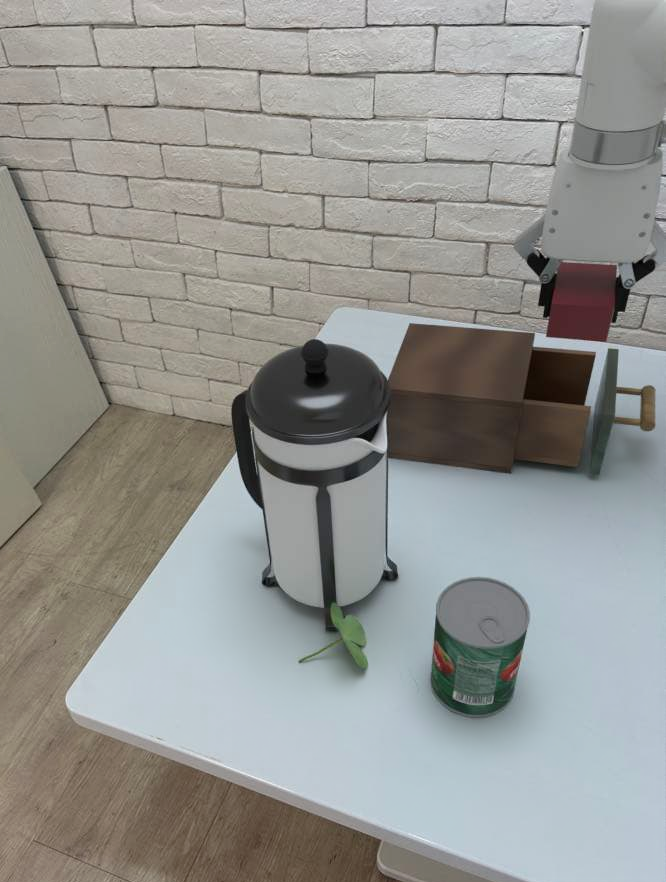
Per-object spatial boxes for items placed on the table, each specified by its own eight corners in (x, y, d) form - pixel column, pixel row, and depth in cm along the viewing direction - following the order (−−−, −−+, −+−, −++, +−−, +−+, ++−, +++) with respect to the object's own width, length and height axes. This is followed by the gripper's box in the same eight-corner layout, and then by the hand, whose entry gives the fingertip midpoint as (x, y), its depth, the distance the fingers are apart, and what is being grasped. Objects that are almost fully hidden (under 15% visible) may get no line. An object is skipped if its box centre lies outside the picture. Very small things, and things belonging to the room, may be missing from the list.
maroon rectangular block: (552, 295, 91) (558, 261, 88) (609, 298, 89) (617, 264, 86) (545, 337, 85) (551, 303, 82) (606, 342, 83) (614, 307, 80)
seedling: (329, 680, 85) (381, 652, 82) (308, 705, 77) (365, 675, 75) (294, 622, 85) (344, 592, 83) (269, 641, 78) (324, 609, 75)
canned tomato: (417, 660, 79) (422, 588, 72) (492, 641, 80) (504, 567, 72) (449, 727, 74) (458, 657, 66) (529, 706, 75) (547, 633, 67)
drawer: (644, 412, 101) (662, 352, 95) (643, 481, 92) (662, 420, 86) (488, 396, 107) (495, 338, 101) (473, 459, 98) (479, 400, 92)
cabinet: (524, 403, 106) (535, 332, 99) (511, 473, 97) (522, 401, 90) (407, 390, 111) (409, 322, 103) (384, 457, 102) (384, 387, 94)
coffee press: (397, 525, 93) (402, 286, 72) (399, 634, 82) (406, 390, 61) (250, 525, 95) (213, 295, 74) (232, 631, 84) (183, 396, 63)
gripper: (715, 124, 74) (665, 302, 87) (521, 123, 79) (501, 291, 92) (720, 156, 69) (666, 339, 82) (512, 153, 74) (492, 325, 87)
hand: (579, 312), depth 87 cm, fingers closed on maroon rectangular block, 6 cm apart
